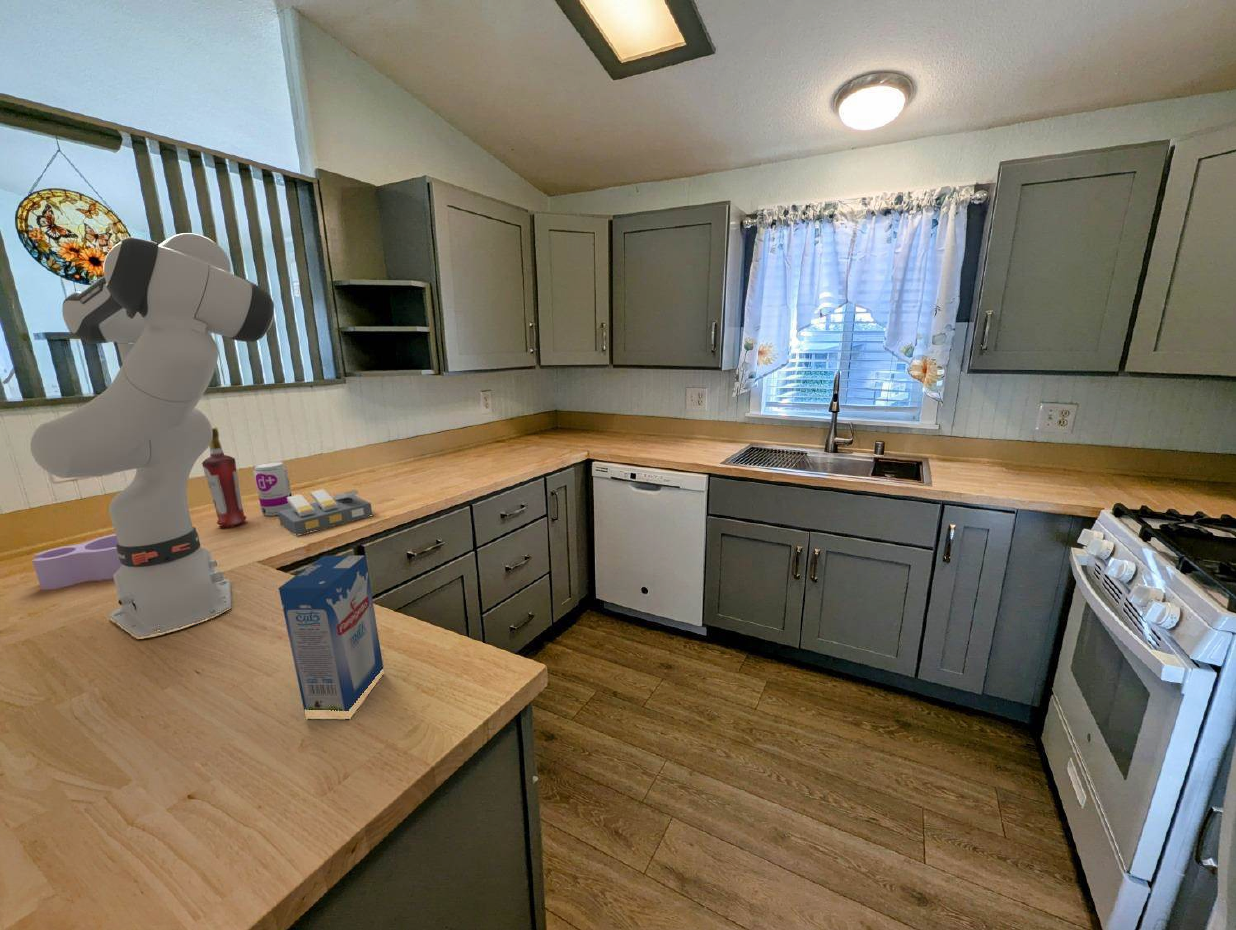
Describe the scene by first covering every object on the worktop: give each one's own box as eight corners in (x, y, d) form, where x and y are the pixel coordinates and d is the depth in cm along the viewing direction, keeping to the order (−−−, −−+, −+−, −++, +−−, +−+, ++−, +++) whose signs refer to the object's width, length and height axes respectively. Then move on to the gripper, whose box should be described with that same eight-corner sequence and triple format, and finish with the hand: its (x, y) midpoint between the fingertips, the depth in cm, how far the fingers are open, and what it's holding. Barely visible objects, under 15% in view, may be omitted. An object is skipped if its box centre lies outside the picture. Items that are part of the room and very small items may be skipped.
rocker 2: (337, 507, 145) (337, 503, 145) (324, 510, 143) (323, 506, 142) (323, 492, 151) (323, 488, 150) (310, 495, 149) (310, 491, 148)
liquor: (212, 526, 146) (190, 429, 139) (242, 518, 151) (222, 425, 144) (222, 531, 142) (199, 431, 135) (252, 523, 147) (232, 427, 140)
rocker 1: (314, 513, 141) (314, 508, 140) (300, 516, 139) (299, 512, 138) (301, 497, 147) (300, 493, 146) (287, 500, 144) (286, 496, 144)
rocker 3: (358, 494, 149) (357, 489, 149) (345, 496, 146) (344, 492, 146) (346, 496, 156) (345, 492, 156) (334, 499, 153) (333, 494, 153)
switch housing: (373, 516, 151) (370, 500, 149) (297, 536, 136) (293, 519, 135) (353, 506, 160) (351, 491, 159) (280, 524, 146) (277, 508, 144)
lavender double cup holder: (38, 596, 107) (28, 566, 105) (47, 577, 116) (37, 549, 114) (164, 567, 120) (156, 539, 118) (163, 551, 129) (156, 526, 127)
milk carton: (345, 673, 80) (324, 555, 75) (384, 673, 79) (365, 554, 74) (305, 720, 70) (278, 588, 65) (350, 720, 70) (325, 587, 65)
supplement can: (283, 516, 152) (273, 467, 149) (256, 516, 152) (245, 468, 149) (300, 507, 160) (291, 461, 156) (274, 508, 160) (264, 461, 157)
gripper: (172, 356, 112) (187, 418, 116) (158, 355, 126) (172, 411, 129) (134, 357, 108) (150, 422, 111) (123, 356, 121) (138, 414, 125)
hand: (161, 416), depth 120 cm, fingers closed
